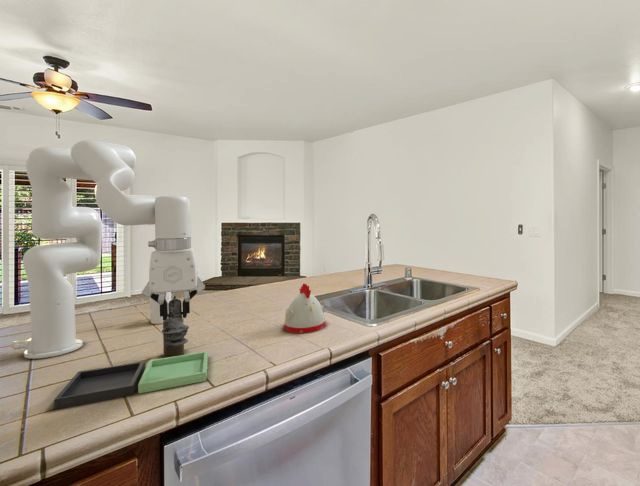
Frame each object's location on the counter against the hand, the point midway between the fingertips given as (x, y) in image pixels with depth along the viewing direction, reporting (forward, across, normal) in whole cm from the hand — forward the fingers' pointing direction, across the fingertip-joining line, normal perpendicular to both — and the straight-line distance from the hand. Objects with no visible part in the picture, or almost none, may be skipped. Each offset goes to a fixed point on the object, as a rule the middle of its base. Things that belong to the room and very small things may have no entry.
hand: (175, 316), depth 92 cm
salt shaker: (+7, 0, 0) cm, 7 cm away
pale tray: (+15, 0, 0) cm, 15 cm away
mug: (+15, -10, +54) cm, 57 cm away
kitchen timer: (+15, +37, +23) cm, 46 cm away
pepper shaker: (+15, -2, +15) cm, 21 cm away
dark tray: (+15, -14, 0) cm, 21 cm away
